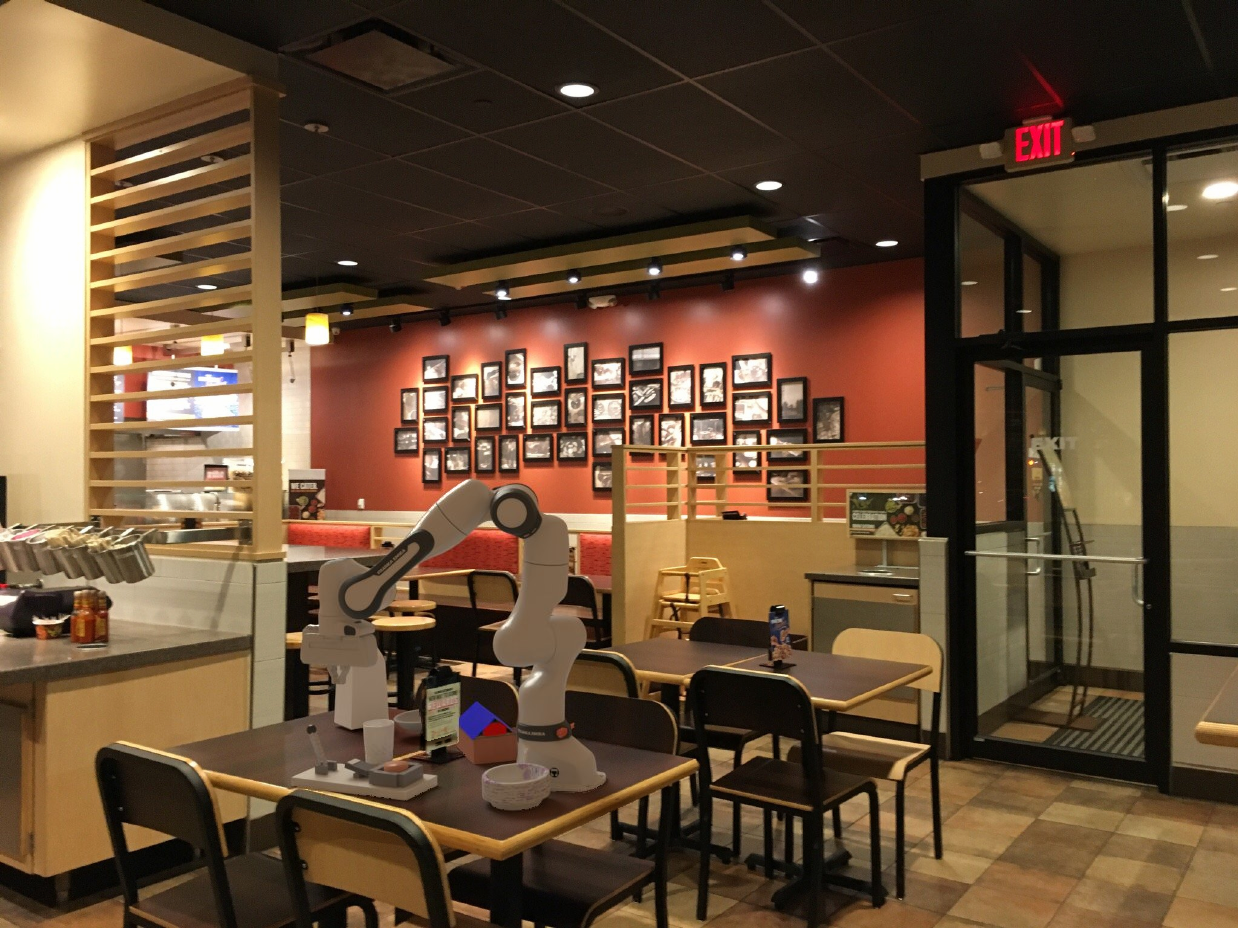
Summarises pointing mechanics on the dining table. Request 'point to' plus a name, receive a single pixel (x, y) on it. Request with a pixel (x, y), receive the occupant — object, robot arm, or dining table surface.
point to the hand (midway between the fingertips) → (338, 683)
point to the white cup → (378, 741)
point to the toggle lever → (317, 745)
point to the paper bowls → (516, 785)
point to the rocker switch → (359, 766)
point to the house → (485, 737)
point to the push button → (396, 766)
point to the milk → (362, 695)
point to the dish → (409, 721)
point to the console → (367, 780)
